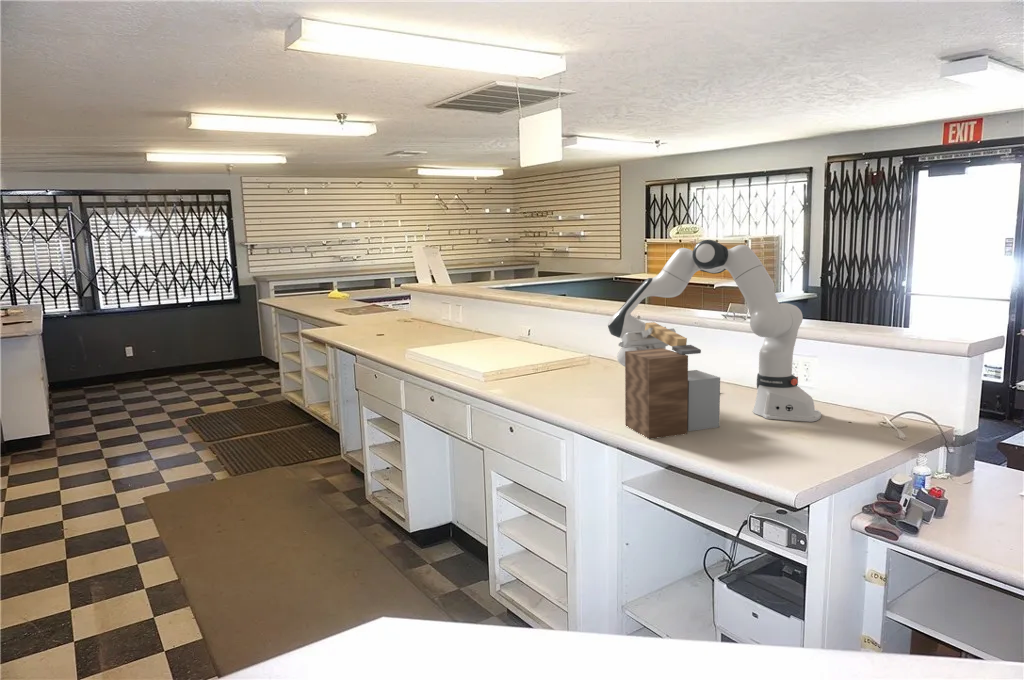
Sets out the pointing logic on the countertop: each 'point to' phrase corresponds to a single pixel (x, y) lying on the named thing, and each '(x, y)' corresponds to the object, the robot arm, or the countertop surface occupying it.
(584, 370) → the countertop surface
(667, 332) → the wooden bar
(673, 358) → the pedestal
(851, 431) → the countertop surface
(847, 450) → the countertop surface
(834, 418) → the countertop surface
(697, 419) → the step
